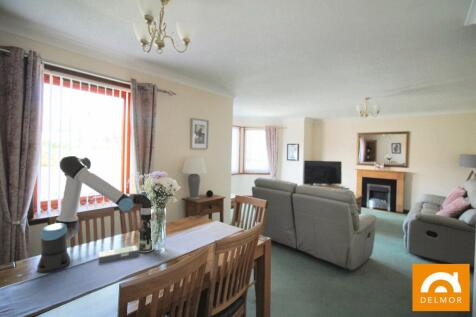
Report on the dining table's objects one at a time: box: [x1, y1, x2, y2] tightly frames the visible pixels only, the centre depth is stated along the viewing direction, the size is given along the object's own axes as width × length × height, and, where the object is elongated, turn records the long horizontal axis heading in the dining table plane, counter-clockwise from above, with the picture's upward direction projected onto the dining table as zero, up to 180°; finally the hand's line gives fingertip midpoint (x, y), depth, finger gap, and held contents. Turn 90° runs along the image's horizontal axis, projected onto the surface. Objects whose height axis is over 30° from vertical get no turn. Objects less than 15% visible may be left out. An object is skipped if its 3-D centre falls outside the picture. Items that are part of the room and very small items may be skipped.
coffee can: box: [137, 226, 153, 253], centre depth 161 cm, size 10×10×14 cm
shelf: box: [98, 245, 140, 264], centre depth 152 cm, size 22×12×3 cm, turn 121°
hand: (146, 246), depth 161 cm, fingers closed on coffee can, 10 cm apart
